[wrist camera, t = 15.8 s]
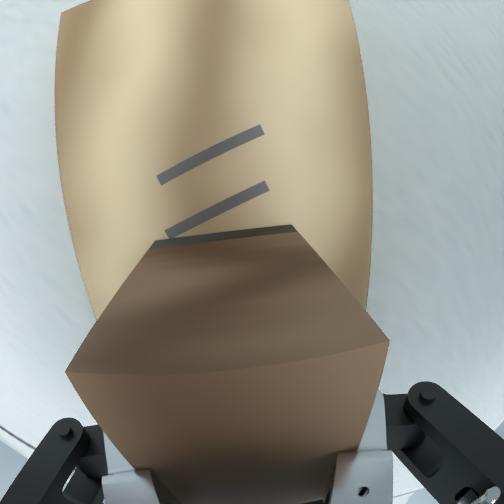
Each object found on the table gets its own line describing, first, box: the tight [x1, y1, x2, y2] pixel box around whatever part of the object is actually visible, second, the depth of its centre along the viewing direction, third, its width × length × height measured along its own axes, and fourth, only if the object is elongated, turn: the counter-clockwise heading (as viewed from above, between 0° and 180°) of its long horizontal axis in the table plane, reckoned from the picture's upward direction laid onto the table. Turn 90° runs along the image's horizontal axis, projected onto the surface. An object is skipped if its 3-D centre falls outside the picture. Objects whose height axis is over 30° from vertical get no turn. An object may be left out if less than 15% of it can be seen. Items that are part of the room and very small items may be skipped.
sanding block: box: [65, 224, 390, 504], centre depth 8 cm, size 5×9×7 cm, turn 6°
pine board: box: [55, 0, 372, 320], centre depth 11 cm, size 12×22×2 cm, turn 5°
